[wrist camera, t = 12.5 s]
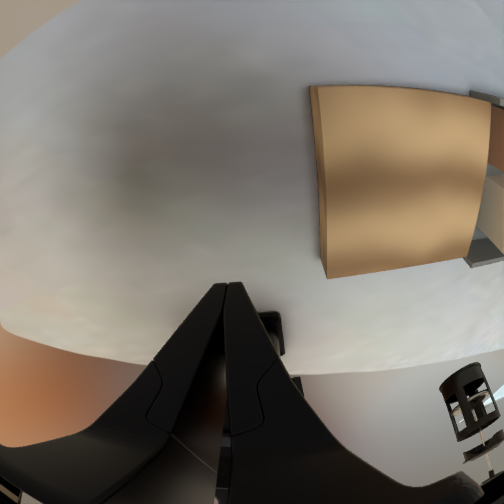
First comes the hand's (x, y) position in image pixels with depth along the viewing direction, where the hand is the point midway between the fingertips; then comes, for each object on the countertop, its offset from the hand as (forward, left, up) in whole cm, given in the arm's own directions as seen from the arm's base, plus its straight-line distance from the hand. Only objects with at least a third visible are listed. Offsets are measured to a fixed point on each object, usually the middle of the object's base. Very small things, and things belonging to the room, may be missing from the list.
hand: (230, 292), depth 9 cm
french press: (-40, -34, -12) cm, 54 cm away
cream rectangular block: (-4, -20, -9) cm, 22 cm away
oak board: (-1, -11, -12) cm, 16 cm away
